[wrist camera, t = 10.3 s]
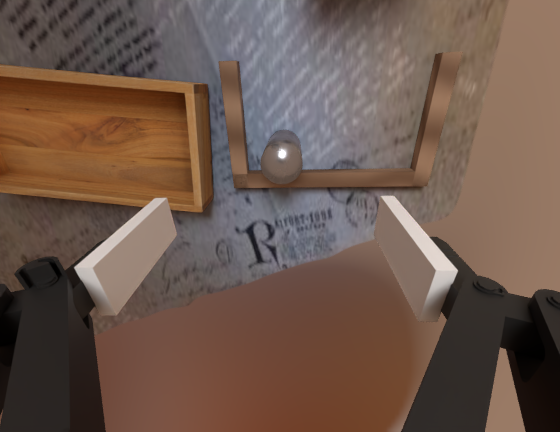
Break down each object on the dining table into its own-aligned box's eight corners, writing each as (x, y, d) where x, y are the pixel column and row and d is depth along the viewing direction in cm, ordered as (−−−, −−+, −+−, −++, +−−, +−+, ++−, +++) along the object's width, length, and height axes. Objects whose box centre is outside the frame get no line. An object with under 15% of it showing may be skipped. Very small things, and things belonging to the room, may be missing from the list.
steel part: (266, 130, 32) (259, 143, 25) (300, 129, 32) (302, 142, 25) (268, 163, 34) (262, 184, 27) (300, 162, 34) (302, 184, 27)
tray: (13, 176, 38) (-30, 191, 33) (-39, 59, 31) (-104, 55, 26) (215, 196, 38) (203, 213, 33) (210, 83, 31) (193, 83, 26)
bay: (222, 62, 29) (218, 61, 28) (454, 53, 27) (462, 51, 26) (236, 184, 36) (234, 187, 35) (422, 182, 35) (427, 186, 33)
